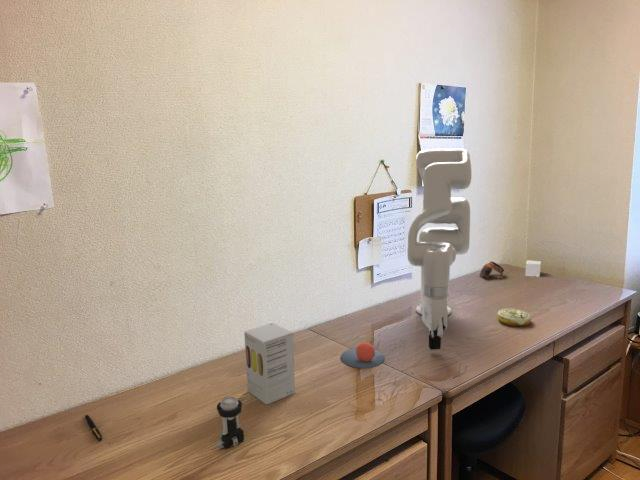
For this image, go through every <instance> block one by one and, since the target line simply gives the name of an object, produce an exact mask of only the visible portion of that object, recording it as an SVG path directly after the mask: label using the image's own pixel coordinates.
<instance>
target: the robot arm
mask: <svg viewBox="0 0 640 480" xmlns="http://www.w3.org/2000/svg"><path fill="white" fill-rule="evenodd" d="M415 161H416V167H417V171H418V173H419V176H420V178H421V181H422V184H423V190H422V195H423V199H422V200H423V201H422V202H423V203H422V211H421V212H420V213H419V214H418V215H417V216H416V217H415V218H414V220H413V221H412V223H411V225H410V227H409V230H408V234H407V260H408V262H409V264H410V265H411V266H414V267H420V304H418V305H417V306H416V308H415V310H416V312H417V313H418V314H419V315H421V321H422V323H423V324H424V325H425V326H426V328H427V329H428V348H429V349H430V350H431V351H434V350H440V349H441V347H442V337H444V331H446V330H447V329H448V316H449V315H450V314H451V313H452V308H451V307H450V306H448V297H450V275H451V273H450V272H451V271H450V268H451V267H452V265H453V264H454V262H455V261H456V258H457V257H456V255H465V254H467V253H468V251H469V249H470V242H471V241H470V238H471V237H470V236H471V233H470V232H471V206H470V203H469V200H468V199H466V198H464V197H452V190H457V189H458V190H465V189H468V188H469V187H470V185H471V182H472V175H473V174H472V163H471V157H470V153H469V151H468V150H467V149H464V148H436V149H435V148H431V149H425V150H424V149H423V150H420V151H419V152H417V154H416V158H415ZM427 224H431V225H449V226H450V225H452V226H453V225H454V226H456V227H427V228H424V229H423V230H421V229H422V228H423V227H424V226H425V225H427ZM420 230H421V231H420ZM419 231H420V233H419ZM418 233H419V236H418ZM418 237H419V238H418Z"/></svg>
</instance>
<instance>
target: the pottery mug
mask: <svg viewBox="0 0 640 480" xmlns="http://www.w3.org/2000/svg"><path fill="white" fill-rule="evenodd" d="M492 271H495V272H497V273H498V274H499V277H498V278H499V279H500V280H501V279H502V278H503V277H504V271H505V269H504V268H503V267H502V266H501V265H499V264H498V263H496V262H495V261H492V260H490V261H489V262H488V263H485V264H484V265H483V266H482V268H481V271H480V274H479V277H480V278H481V279H483V278H489V277H490V274H491V273H492Z"/></svg>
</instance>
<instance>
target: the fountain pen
mask: <svg viewBox="0 0 640 480" xmlns="http://www.w3.org/2000/svg"><path fill="white" fill-rule="evenodd" d="M84 418H85V419H86V421H87V424H88V426H89V427H90V429H91V431H92V433H93V435H94V438H96V439H97V440H98V441H100V442H101V441H102V440H103V438H102V434H101V432H100V430H99V428H98V427H97V426H96V424H95V422H94V421H93V420H92V419H91V417H90V415H89V414H87V413H84Z"/></svg>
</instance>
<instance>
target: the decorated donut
mask: <svg viewBox="0 0 640 480" xmlns="http://www.w3.org/2000/svg"><path fill="white" fill-rule="evenodd" d="M531 318H532V315H531V314H529V313H528V312H526V311H524V310H521V309H517V308H502V309H500V310H499V311H497V319H498V321H499V322H500V323H501V324H504V325H507V326H510V327H524V326H525V327H526V326H528V325H530V324H531Z"/></svg>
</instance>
